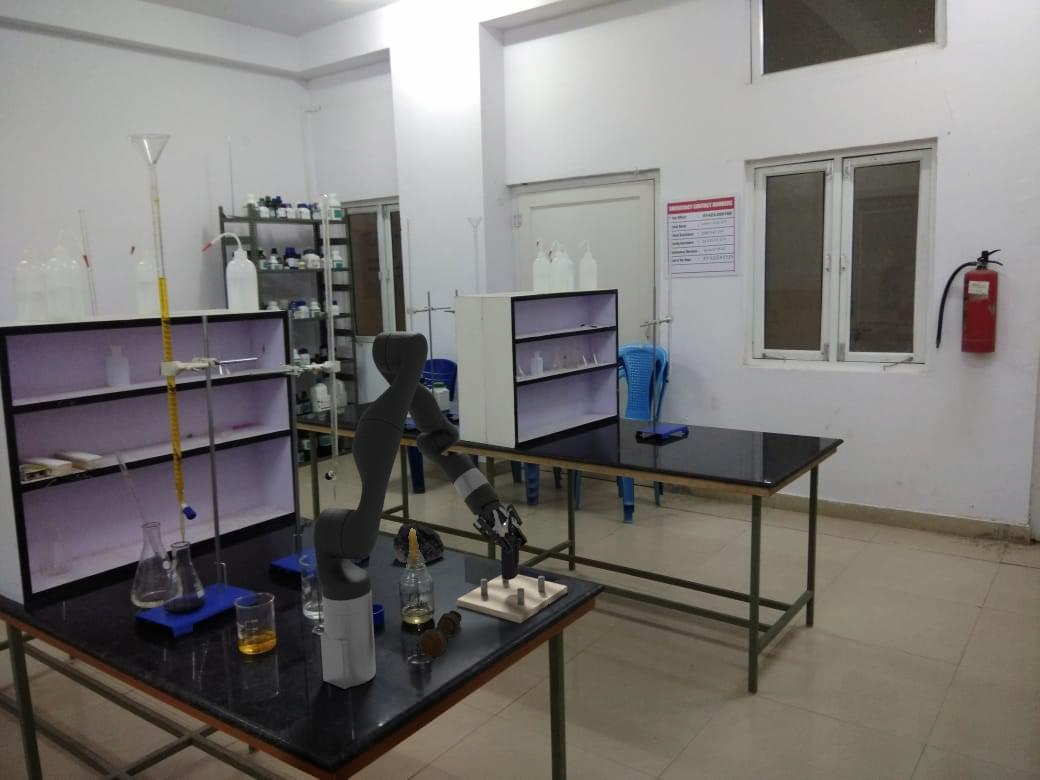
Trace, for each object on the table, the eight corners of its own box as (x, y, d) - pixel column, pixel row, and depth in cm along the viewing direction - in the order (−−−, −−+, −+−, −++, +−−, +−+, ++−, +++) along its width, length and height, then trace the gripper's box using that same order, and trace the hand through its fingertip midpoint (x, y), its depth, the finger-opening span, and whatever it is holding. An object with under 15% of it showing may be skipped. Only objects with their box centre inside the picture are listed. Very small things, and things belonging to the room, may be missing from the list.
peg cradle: (520, 623, 171) (519, 601, 170) (457, 605, 181) (456, 585, 180) (567, 592, 187) (566, 572, 186) (506, 577, 197) (506, 558, 196)
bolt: (459, 632, 171) (435, 663, 157) (440, 620, 172) (414, 649, 158) (471, 612, 170) (447, 640, 156) (451, 599, 171) (427, 627, 156)
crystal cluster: (451, 562, 210) (451, 526, 210) (404, 568, 204) (404, 531, 204) (432, 552, 222) (433, 517, 222) (387, 556, 216) (388, 521, 215)
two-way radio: (507, 571, 187) (506, 512, 185) (524, 574, 185) (524, 513, 183) (499, 580, 182) (498, 518, 179) (517, 582, 180) (516, 520, 178)
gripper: (465, 489, 178) (509, 548, 173) (502, 475, 190) (543, 530, 185) (448, 508, 182) (490, 566, 177) (485, 493, 194) (526, 547, 189)
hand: (517, 547), depth 181 cm, fingers closed on two-way radio, 5 cm apart
